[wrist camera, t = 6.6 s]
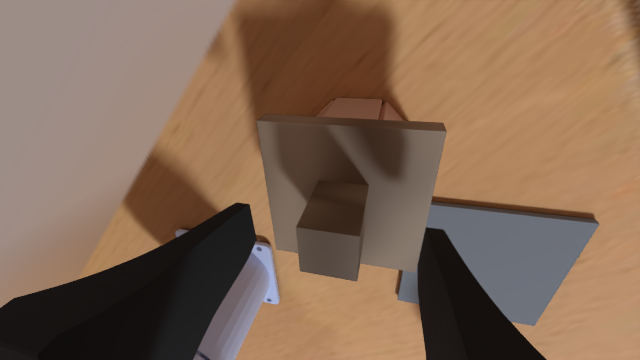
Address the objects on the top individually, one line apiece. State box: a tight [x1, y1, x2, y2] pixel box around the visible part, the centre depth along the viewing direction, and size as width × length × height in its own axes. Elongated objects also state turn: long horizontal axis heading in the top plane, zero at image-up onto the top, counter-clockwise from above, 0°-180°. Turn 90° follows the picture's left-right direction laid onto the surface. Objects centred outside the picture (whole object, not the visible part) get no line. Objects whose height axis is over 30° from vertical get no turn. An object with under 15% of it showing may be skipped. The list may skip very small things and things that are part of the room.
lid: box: [257, 114, 447, 281], centre depth 13 cm, size 8×8×4 cm
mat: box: [398, 201, 599, 326], centre depth 19 cm, size 10×10×1 cm
